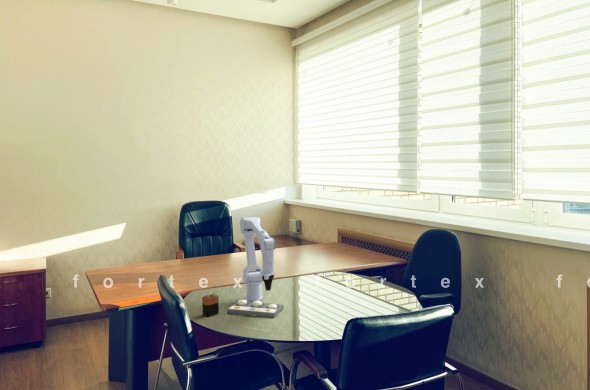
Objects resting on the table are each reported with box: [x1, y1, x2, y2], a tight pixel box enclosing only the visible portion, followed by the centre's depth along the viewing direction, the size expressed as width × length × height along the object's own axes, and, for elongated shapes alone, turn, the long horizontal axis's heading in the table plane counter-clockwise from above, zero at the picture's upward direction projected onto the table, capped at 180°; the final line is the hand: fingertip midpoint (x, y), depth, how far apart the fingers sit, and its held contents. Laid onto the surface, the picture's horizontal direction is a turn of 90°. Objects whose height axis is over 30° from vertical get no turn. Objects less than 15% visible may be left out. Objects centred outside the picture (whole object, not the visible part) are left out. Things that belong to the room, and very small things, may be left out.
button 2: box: [253, 300, 263, 308], centre depth 237 cm, size 4×4×2 cm
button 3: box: [268, 303, 277, 309], centre depth 235 cm, size 4×4×2 cm
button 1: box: [237, 299, 248, 306], centre depth 239 cm, size 4×4×2 cm
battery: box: [201, 292, 220, 318], centre depth 230 cm, size 4×7×10 cm, turn 135°
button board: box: [227, 301, 284, 319], centre depth 235 cm, size 14×24×2 cm, turn 73°
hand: (268, 290), depth 235 cm, fingers closed
